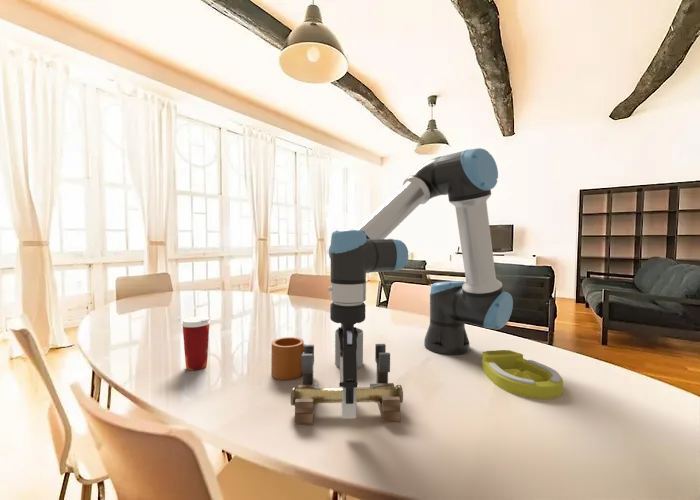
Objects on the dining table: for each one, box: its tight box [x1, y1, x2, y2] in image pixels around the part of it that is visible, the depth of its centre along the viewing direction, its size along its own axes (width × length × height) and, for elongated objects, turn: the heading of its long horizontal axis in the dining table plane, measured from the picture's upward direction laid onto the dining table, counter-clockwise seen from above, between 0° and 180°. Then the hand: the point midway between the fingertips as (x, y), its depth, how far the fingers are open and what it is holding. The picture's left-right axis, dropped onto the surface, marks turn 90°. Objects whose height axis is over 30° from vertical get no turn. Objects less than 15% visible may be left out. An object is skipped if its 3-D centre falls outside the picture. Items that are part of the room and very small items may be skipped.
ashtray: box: [481, 349, 564, 400], centre depth 86 cm, size 16×21×5 cm
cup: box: [334, 327, 364, 369], centre depth 96 cm, size 8×8×10 cm
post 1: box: [302, 344, 320, 388], centre depth 77 cm, size 5×7×11 cm
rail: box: [290, 384, 404, 407], centre depth 69 cm, size 24×4×4 cm, turn 93°
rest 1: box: [294, 384, 316, 427], centre depth 68 cm, size 4×8×5 cm, turn 3°
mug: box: [270, 336, 315, 381], centre depth 89 cm, size 9×12×9 cm
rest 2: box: [376, 382, 401, 424], centre depth 69 cm, size 4×8×5 cm, turn 3°
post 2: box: [369, 343, 391, 387], centre depth 78 cm, size 5×7×11 cm
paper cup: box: [181, 315, 211, 371], centre depth 94 cm, size 8×8×14 cm
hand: (347, 399), depth 69 cm, fingers open, 13 cm apart
